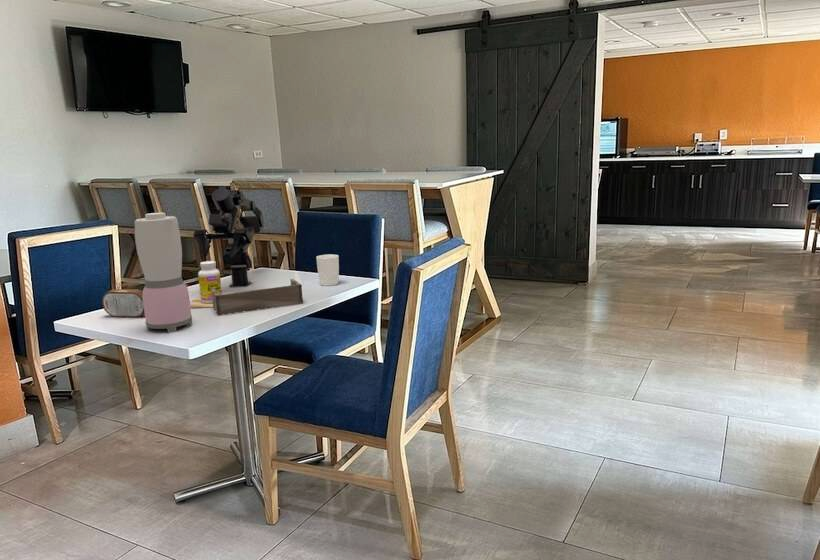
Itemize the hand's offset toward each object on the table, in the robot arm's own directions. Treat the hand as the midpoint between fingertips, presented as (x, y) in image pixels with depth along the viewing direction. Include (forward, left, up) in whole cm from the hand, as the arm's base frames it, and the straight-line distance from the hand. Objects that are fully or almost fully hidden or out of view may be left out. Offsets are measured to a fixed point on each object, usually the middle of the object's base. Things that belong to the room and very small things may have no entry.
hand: (217, 257), depth 206 cm
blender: (+34, -5, -14) cm, 37 cm away
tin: (+22, -22, -14) cm, 34 cm away
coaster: (+8, -1, -14) cm, 16 cm away
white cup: (-14, +34, -14) cm, 39 cm away
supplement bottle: (+7, -1, -13) cm, 15 cm away
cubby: (+14, +16, -14) cm, 25 cm away
